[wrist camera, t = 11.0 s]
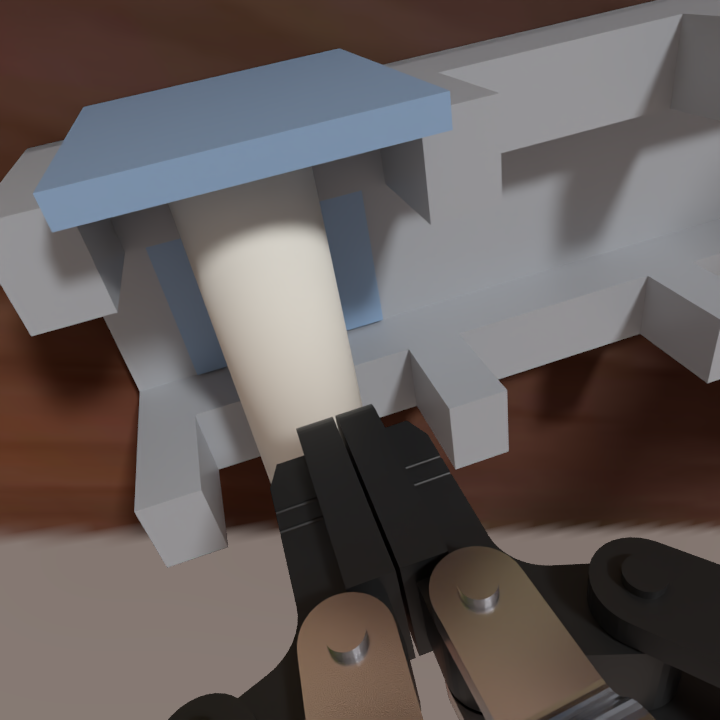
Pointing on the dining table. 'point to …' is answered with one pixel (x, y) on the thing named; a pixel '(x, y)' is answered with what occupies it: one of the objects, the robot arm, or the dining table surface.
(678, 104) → the white peg rack
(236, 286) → the cream cylindrical rod
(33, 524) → the dining table surface
